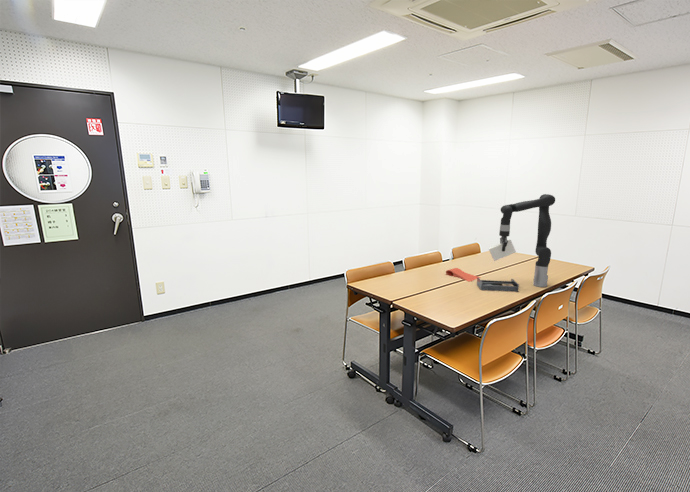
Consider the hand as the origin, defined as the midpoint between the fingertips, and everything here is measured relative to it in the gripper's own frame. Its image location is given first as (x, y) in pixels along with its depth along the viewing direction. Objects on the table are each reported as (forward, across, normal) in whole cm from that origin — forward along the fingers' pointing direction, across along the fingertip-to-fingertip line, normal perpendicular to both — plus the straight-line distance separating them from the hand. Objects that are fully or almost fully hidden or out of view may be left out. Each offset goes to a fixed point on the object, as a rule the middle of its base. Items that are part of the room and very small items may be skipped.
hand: (502, 250), depth 286 cm
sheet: (+30, +20, +26) cm, 44 cm away
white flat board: (+5, 0, -2) cm, 5 cm away
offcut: (+27, -14, -2) cm, 30 cm away
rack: (+29, -10, +5) cm, 31 cm away
